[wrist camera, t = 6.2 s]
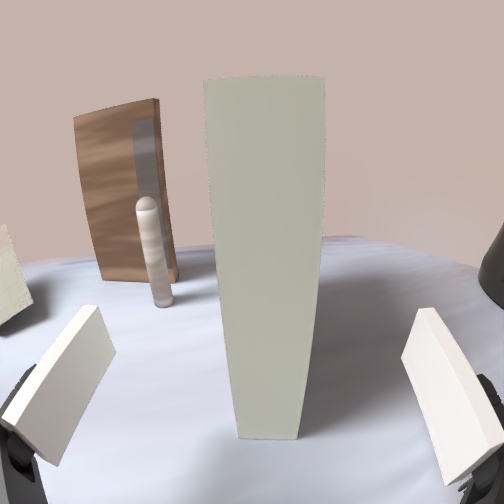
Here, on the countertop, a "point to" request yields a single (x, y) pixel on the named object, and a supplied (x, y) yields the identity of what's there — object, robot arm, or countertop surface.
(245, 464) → the countertop surface
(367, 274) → the countertop surface
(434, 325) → the robot arm
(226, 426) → the countertop surface
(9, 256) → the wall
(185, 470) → the countertop surface
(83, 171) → the walnut cabinet side
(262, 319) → the cream thick square slab
